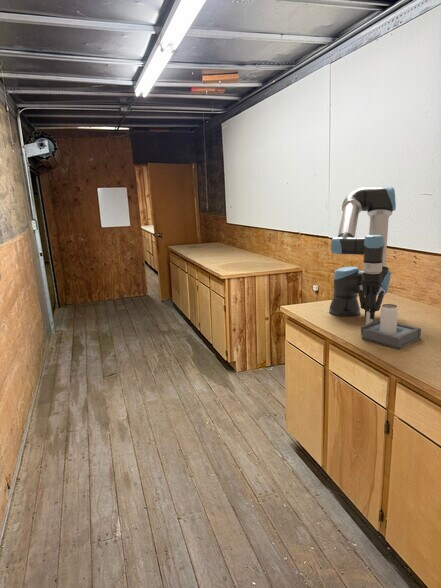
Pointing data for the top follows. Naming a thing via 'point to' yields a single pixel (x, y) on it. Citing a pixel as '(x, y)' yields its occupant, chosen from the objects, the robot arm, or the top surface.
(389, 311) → the can
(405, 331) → the tray
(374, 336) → the tray
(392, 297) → the top surface
